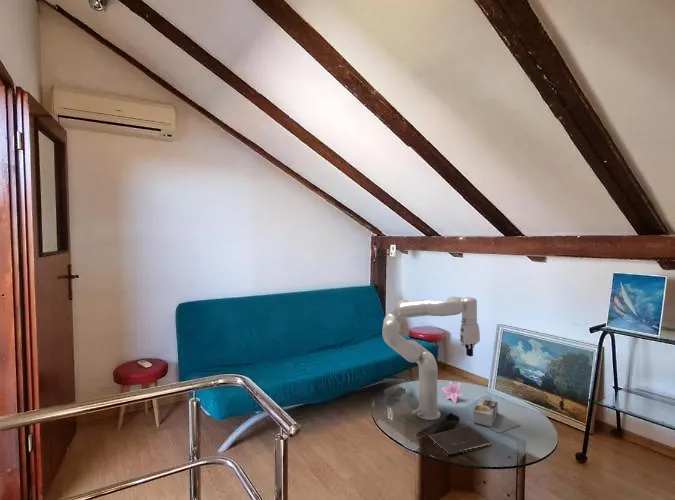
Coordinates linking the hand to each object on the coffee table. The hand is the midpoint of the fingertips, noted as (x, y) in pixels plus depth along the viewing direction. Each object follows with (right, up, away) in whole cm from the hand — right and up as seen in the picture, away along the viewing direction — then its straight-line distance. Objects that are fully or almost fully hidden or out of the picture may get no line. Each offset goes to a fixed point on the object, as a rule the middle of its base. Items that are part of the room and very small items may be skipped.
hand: (469, 355), depth 199 cm
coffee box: (+4, -30, -8) cm, 31 cm away
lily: (-2, -32, +22) cm, 39 cm away
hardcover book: (-12, -36, -21) cm, 43 cm away
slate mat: (+13, -33, -6) cm, 36 cm away
